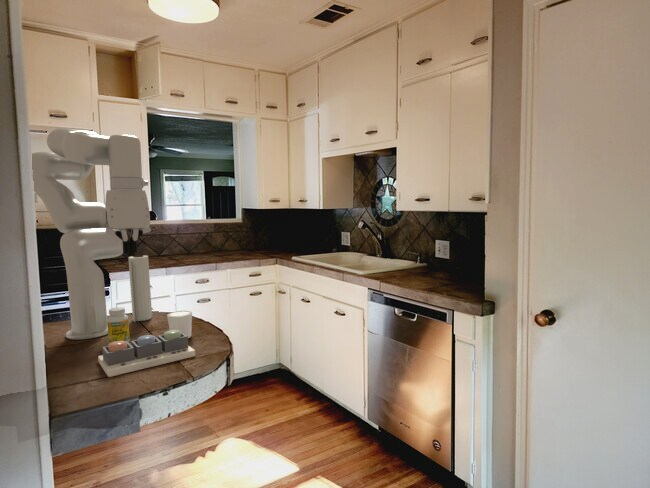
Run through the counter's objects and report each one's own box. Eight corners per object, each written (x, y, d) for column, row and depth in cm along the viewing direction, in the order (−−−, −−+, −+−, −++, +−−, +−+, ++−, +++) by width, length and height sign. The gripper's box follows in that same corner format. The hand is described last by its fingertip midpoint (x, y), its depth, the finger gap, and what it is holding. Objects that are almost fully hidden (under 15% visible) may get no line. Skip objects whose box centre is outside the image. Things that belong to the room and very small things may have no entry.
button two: (136, 350, 108) (135, 337, 107) (152, 347, 110) (152, 334, 110) (140, 355, 104) (139, 341, 104) (157, 351, 107) (156, 337, 107)
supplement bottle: (128, 338, 125) (125, 305, 124) (131, 342, 120) (129, 309, 119) (107, 341, 122) (105, 308, 121) (110, 346, 117) (107, 312, 116)
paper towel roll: (146, 315, 149) (142, 254, 147) (155, 318, 145) (151, 255, 143) (126, 320, 143) (121, 257, 141) (135, 323, 140) (130, 258, 137)
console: (98, 361, 106) (97, 344, 106) (179, 344, 118) (178, 328, 118) (108, 377, 97) (106, 357, 96) (195, 356, 109) (194, 338, 108)
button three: (162, 345, 112) (162, 332, 111) (178, 341, 114) (177, 328, 114) (167, 349, 108) (166, 335, 108) (183, 345, 111) (182, 332, 110)
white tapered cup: (197, 333, 128) (195, 310, 127) (187, 341, 121) (186, 316, 120) (175, 333, 128) (173, 310, 128) (164, 340, 121) (162, 316, 121)
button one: (107, 357, 104) (106, 343, 103) (125, 353, 106) (124, 339, 106) (111, 361, 101) (110, 347, 100) (129, 357, 103) (128, 343, 103)
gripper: (152, 185, 117) (155, 251, 120) (91, 184, 108) (95, 256, 111) (160, 185, 111) (163, 255, 114) (96, 184, 103) (100, 260, 105)
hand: (130, 255), depth 112 cm, fingers closed
